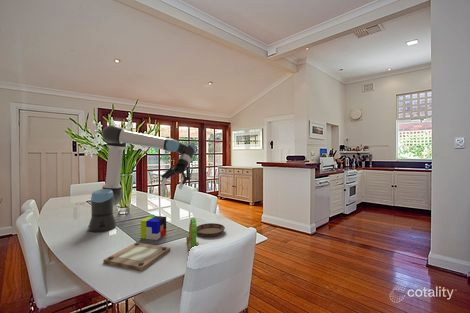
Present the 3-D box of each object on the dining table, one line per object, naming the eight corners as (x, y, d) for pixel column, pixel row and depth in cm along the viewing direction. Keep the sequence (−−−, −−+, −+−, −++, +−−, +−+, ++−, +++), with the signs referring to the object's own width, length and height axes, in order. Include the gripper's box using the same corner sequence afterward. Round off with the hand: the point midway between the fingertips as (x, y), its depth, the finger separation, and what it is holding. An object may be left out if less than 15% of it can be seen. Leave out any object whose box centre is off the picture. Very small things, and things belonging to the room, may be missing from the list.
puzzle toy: (157, 239, 126) (157, 221, 126) (140, 238, 128) (140, 220, 128) (166, 233, 136) (166, 216, 135) (150, 232, 138) (150, 215, 137)
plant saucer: (199, 240, 127) (199, 234, 127) (192, 229, 143) (192, 225, 143) (229, 235, 134) (229, 230, 134) (219, 226, 150) (219, 221, 150)
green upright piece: (185, 241, 124) (186, 213, 124) (196, 240, 126) (196, 212, 125) (188, 254, 109) (188, 222, 109) (200, 252, 111) (200, 221, 110)
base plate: (103, 263, 99) (103, 258, 99) (136, 245, 118) (136, 241, 118) (141, 271, 93) (141, 266, 93) (170, 250, 112) (170, 246, 112)
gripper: (201, 166, 154) (190, 192, 141) (170, 165, 163) (156, 190, 149) (197, 158, 149) (185, 185, 136) (165, 158, 158) (150, 183, 144)
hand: (170, 187), depth 142 cm, fingers open, 13 cm apart
